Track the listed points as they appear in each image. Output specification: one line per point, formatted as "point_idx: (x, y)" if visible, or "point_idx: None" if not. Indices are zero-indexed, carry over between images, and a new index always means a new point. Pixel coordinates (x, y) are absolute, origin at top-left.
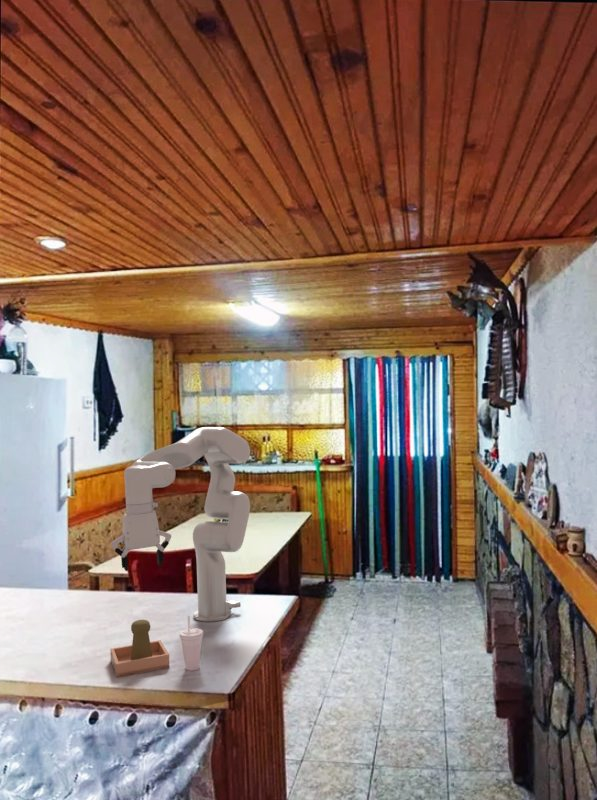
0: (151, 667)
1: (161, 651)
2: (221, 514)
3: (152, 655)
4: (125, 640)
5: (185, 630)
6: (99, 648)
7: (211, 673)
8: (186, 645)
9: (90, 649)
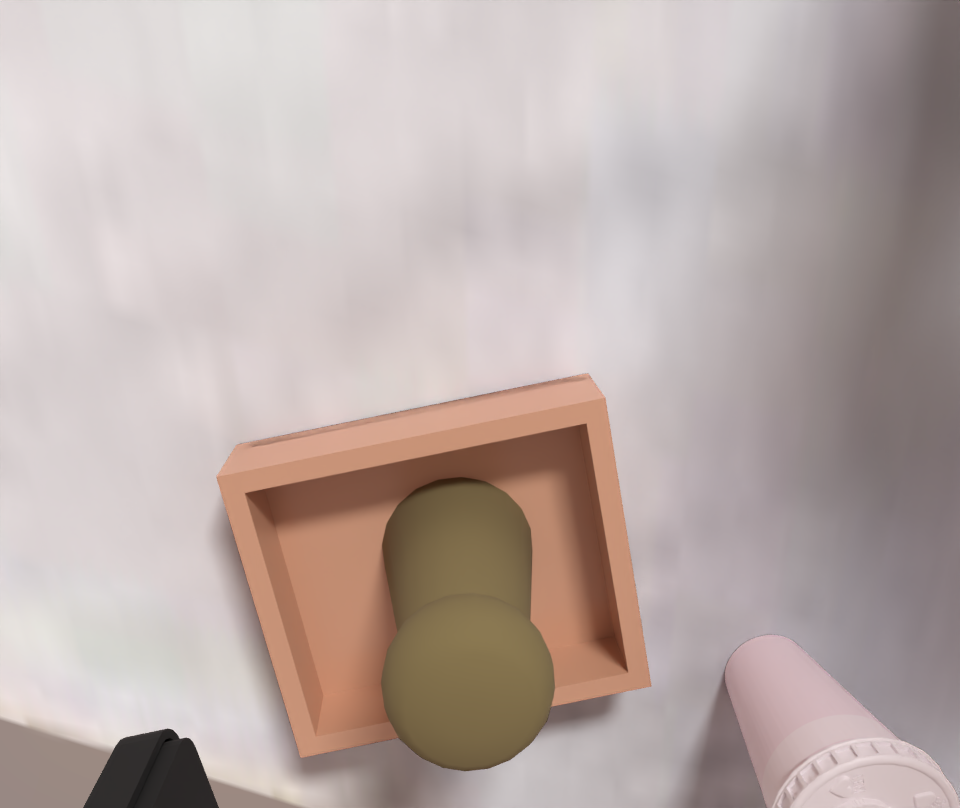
0: None
1: (598, 521)
2: None
3: (530, 477)
4: (295, 14)
5: (833, 792)
6: (97, 151)
7: None
8: None
9: (23, 152)
